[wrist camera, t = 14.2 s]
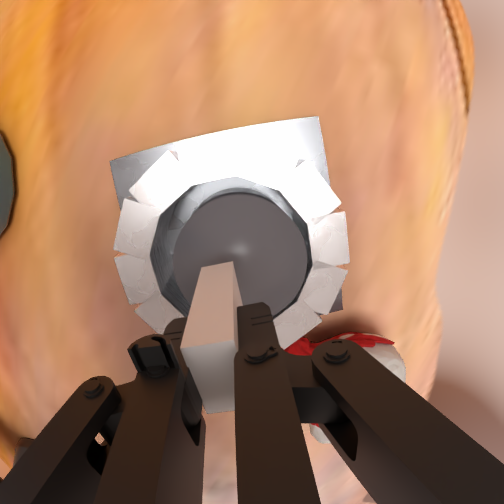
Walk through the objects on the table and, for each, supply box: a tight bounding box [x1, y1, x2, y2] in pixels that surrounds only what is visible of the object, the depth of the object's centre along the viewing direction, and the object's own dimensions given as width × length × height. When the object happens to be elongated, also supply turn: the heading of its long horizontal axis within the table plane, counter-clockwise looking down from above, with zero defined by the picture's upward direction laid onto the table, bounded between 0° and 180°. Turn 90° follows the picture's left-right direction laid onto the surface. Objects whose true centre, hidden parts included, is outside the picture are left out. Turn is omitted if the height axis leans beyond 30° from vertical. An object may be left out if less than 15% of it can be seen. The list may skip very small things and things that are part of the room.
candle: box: [282, 332, 406, 443], centre depth 23 cm, size 9×11×15 cm
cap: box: [173, 187, 307, 316], centre depth 20 cm, size 8×8×6 cm
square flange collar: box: [110, 116, 350, 349], centre depth 20 cm, size 16×16×6 cm
